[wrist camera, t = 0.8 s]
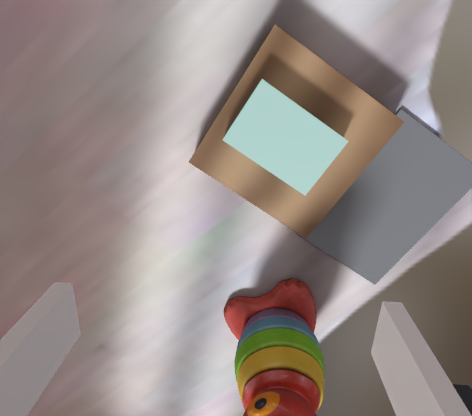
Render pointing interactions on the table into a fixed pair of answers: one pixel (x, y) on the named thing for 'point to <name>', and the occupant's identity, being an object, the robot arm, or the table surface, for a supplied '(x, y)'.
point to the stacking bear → (277, 351)
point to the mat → (394, 201)
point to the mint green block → (284, 138)
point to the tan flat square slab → (319, 105)
